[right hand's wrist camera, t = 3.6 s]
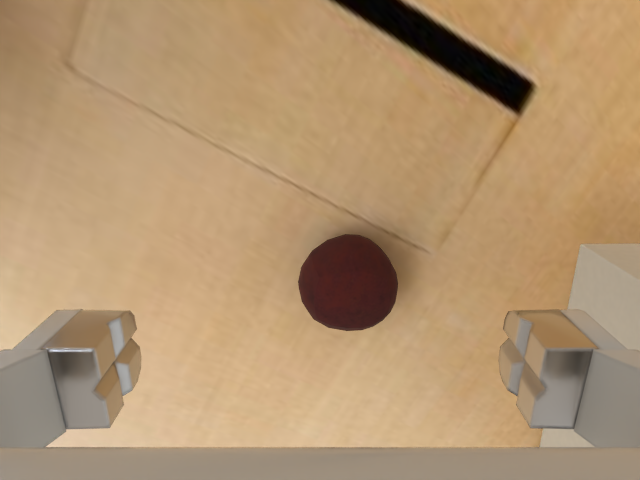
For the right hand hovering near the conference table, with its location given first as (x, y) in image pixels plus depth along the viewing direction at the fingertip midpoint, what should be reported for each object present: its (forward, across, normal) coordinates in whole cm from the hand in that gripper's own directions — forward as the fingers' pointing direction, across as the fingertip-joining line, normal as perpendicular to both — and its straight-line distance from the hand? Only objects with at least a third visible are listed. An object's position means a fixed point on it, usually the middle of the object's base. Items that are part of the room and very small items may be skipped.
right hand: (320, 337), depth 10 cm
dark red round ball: (+27, -2, +10) cm, 29 cm away
